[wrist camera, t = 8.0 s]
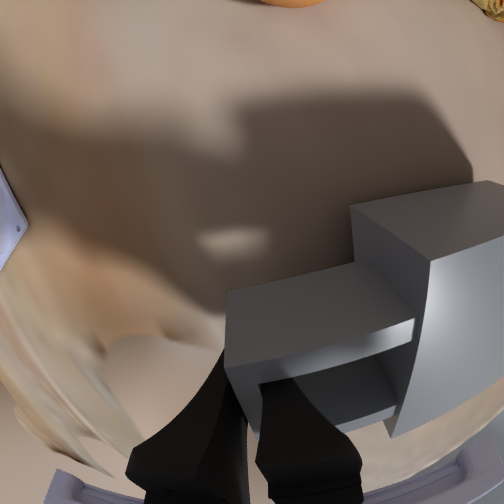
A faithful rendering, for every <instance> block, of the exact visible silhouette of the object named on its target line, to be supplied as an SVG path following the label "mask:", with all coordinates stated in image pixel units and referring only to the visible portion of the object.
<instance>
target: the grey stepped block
mask: <svg viewBox="0 0 504 504" xmlns="http://www.w3.org/2000/svg"><path fill="white" fill-rule="evenodd" d="M349 206H350V215H351V225H352V236H353V248H354V262H352V263H348V264H344V265H340V266H336V267H332V268H328V269H324V270H320V271H315V272H311V273H307V274H303V275H298V276H294V277H290V278H286V279H281V280H277V281H272V282H268V283H263V284H259V285H254V286H250V287H245V288H240V289H236V290H231V291H227V304H226V325H225V349H224V370H225V372H226V374H227V376H228V379H229V381H230V383H231V385H232V388H233V390H234V392H235V394H236V397H237V399H238V401H239V403H240V405H241V407H242V410H243V412H244V414H245V416H246V418H247V420H248V422H249V424H250V426H251V428H252V430H253V432H254V434H255V436H256V438H257V440H258V442H259V435H260V427H261V418H262V405H263V383H266V382H271V381H276V380H281V379H286V378H291V377H293V378H294V380H295V382H296V383H297V385H298V386H299V387H300V389H301V390H302V392H303V393H304V394H305V396H306V397H307V398H308V399H309V400H310V402H311V403H312V404H313V405H314V406H315V407H316V408H317V409H318V410H319V412H320V413H321V414H322V415H323V416H324V417H325V418H326V419H327V420H329V421H330V422H331V423H332V424H333V425H334V426H335V427H336V428H338V429H339V430H340V431H341V432H343V433H346V432H349V431H352V430H356V429H359V428H362V427H365V426H368V425H371V424H373V423H376V422H379V421H382V420H383V422H384V424H385V426H386V429H387V431H388V433H389V436H390V438H394V437H396V436H398V435H401V434H403V433H406V432H408V431H410V430H412V429H414V428H417V427H419V426H421V425H423V424H425V423H427V422H429V421H431V420H433V419H435V418H437V417H439V416H441V415H443V414H445V413H446V412H448V411H450V410H452V409H454V408H455V407H457V406H459V405H460V404H462V403H464V402H465V401H467V400H469V399H470V398H472V397H473V396H475V395H477V394H478V393H480V392H481V391H483V390H484V389H486V388H487V387H489V386H490V385H491V384H493V383H494V382H496V381H497V380H498V379H500V378H501V377H502V376H504V185H501V184H498V183H495V182H492V181H488V180H486V181H479V182H473V183H467V184H461V185H455V186H449V187H443V188H437V189H432V190H426V191H420V192H415V193H409V194H404V195H399V196H393V197H388V198H383V199H377V200H372V201H367V202H362V203H357V204H352V205H349Z"/></svg>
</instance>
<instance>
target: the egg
mask: <svg viewBox="0 0 504 504" xmlns="http://www.w3.org/2000/svg"><path fill="white" fill-rule="evenodd" d="M261 1H263V2H265V3H268V4H271V5H275V6H279V7H286V8H301V7H308V6H312V5H316V4H318V3H320V2H323V1H325V0H261Z"/></svg>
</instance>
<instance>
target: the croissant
mask: <svg viewBox="0 0 504 504" xmlns="http://www.w3.org/2000/svg"><path fill="white" fill-rule="evenodd" d="M471 1H473V2H474V3H475V4H476V5H477V6H479V7H480V8H481V9H483V10H486V11H485V13H486V15H488V16H489V17H490V18H492V19H493V20H495V21H499V22H504V0H471Z"/></svg>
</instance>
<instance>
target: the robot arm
mask: <svg viewBox="0 0 504 504" xmlns="http://www.w3.org/2000/svg"><path fill="white" fill-rule="evenodd" d="M27 228H28V221H27V219H26V217H25V216H24V214H23V212H22V210H21V208H20V207H19V205H18V203H17V201H16V199H15V197H14V195H13V193H12V191H11V189H10V187H9V185H8V183H7V181H6V179H5V177H4V175H3V173H2V170H1V168H0V271H1V270H2V268H3V266H4V264H5V263H6V261H7V259H8V258H9V256H10V254H11V253H12V251H13V249H14V248H15V246H16V245H17V243H18V242H19V240H20V239H21V237H22V236H23V234H24V233H25V231H26V230H27ZM224 349H225V348H224ZM247 427H248V420H247V418H246V416H245V414H244V412H243V410H242V407H241V405H240V403H239V401H238V399H237V397H236V394H235V392H234V390H233V388H232V385H231V383H230V381H229V379H228V376H227V374H226V372H225V370H224V350H223V352H222V353H221V355H220V357H219V359H218V361H217V363H216V364H215V366H214V368H213V370H212V371H211V373H210V374H209V376H208V378H207V379H206V381H205V382H204V384H203V385H202V386H201V388H200V389H199V391H198V392H197V394H196V395H195V396H194V397H193V399H192V400H191V401H190V402H189V403H188V405H187V406H186V407H185V408H184V409H183V410H182V411H181V412H180V413H179V414H178V415H177V416H176V417H175V418H174V419H173V420H172V421H171V422H170V423H169V424H167V426H165V427H164V428H163V429H161V430H160V431H159V432H157V433H156V434H155V435H153V436H152V437H151V438H149V439H147V440H146V441H144V442H143V443H141V444H139V445H138V446H136V447H134V448H133V450H132V453H131V455H130V458H129V462H128V465H127V469H126V472H125V474H126V476H127V478H128V479H129V480H131V481H132V482H133V483H135V484H136V485H138V486H139V487H141V488H142V489H144V490H145V491H146V495H145V499H144V500H143V499H138V498H134V497H130V496H125V495H122V494H118V493H115V492H111V491H108V490H104V489H101V488H98V487H95V486H92V485H89V484H86V483H84V482H83V481H81V480H80V479H79V478H77V477H76V476H74V475H72V474H70V473H67V472H65V471H62V470H60V469H57V470H56V472H55V474H54V477H53V479H52V482H51V484H50V487H49V489H48V492H47V494H46V497H45V500H44V504H250V495H249V482H248V463H247ZM255 463H256V464H257V466H258V468H259V469H260V471H261V473H262V474H263V475H264V477H265V479H266V480H267V482H268V498H269V499H272V500H273V501H274V503H275V504H470V503H472V502H474V501H475V500H477V499H479V498H480V497H482V496H483V495H485V494H486V493H488V492H489V491H491V490H492V489H493V488H495V487H496V486H498V485H499V484H500V483H502V482H503V481H504V465H503V463H502V461H501V459H500V457H499V454H498V452H497V450H496V448H495V446H494V444H493V442H492V440H491V438H490V436H489V434H487V435H485V436H483V437H481V438H480V439H478V440H476V441H475V442H473V443H471V444H470V445H468V446H466V447H465V448H464V449H462V450H461V451H460V452H459V453H458V455H457V456H456V457H455V458H453V459H451V460H449V461H447V462H445V463H443V464H441V465H439V466H437V467H435V468H433V469H430V470H428V471H426V472H423V473H421V474H419V475H416V476H414V477H411V478H409V479H406V480H403V481H401V482H398V483H395V484H392V485H389V486H386V487H383V488H380V489H377V490H373V491H370V492H366V493H363V492H362V487H361V483H362V482H361V476H360V471H361V468H362V459H361V457H360V454H359V452H358V451H357V449H356V448H355V446H354V445H353V443H352V442H351V440H350V439H349V437H348V436H347V435H345V434H344V433H343V432H341V431H340V430H339V429H338V428H336V427H335V426H334V425H333V424H332V423H331V422H330V421H329V420H327V419H326V418H325V417H324V416H323V415H322V414H321V413H320V412H319V410H318V409H317V408H316V407H315V406H314V405H313V404H312V403H311V402H310V400H309V399H308V398H307V397H306V396H305V394H304V393H303V392H302V390H301V389H300V387H299V386H298V385H297V383H296V382H295V380H294V378H293V377H291V378H286V379H281V380H276V381H271V382H266V383H263V405H262V418H261V427H260V435H259V442H258V448H257V454H256V459H255Z"/></svg>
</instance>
